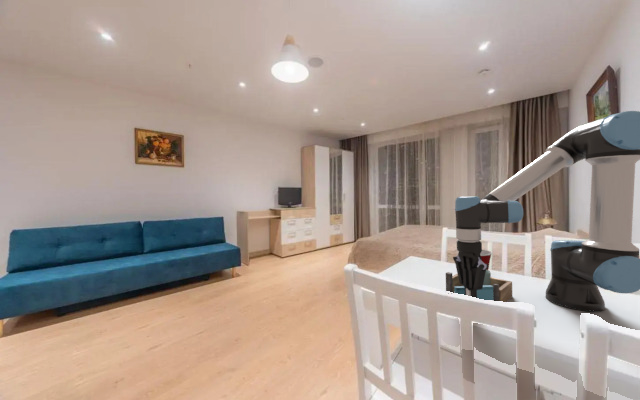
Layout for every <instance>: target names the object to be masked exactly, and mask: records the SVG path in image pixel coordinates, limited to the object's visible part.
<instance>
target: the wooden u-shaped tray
mask: <svg viewBox="0 0 640 400" xmlns="http://www.w3.org/2000/svg"><path fill="white" fill-rule="evenodd" d="M454 286H464V285H462V284H460V282H459V278H458V273H456V274H454V275H453V272H449V271H447V272H445V292H446V291H450V292H453V293H454ZM491 286H493V300H494V301H503V302H506V303H507V302H509V300H511V298H512V297H513V281H510V280H506V279H501V278H497V277H491Z"/></svg>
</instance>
